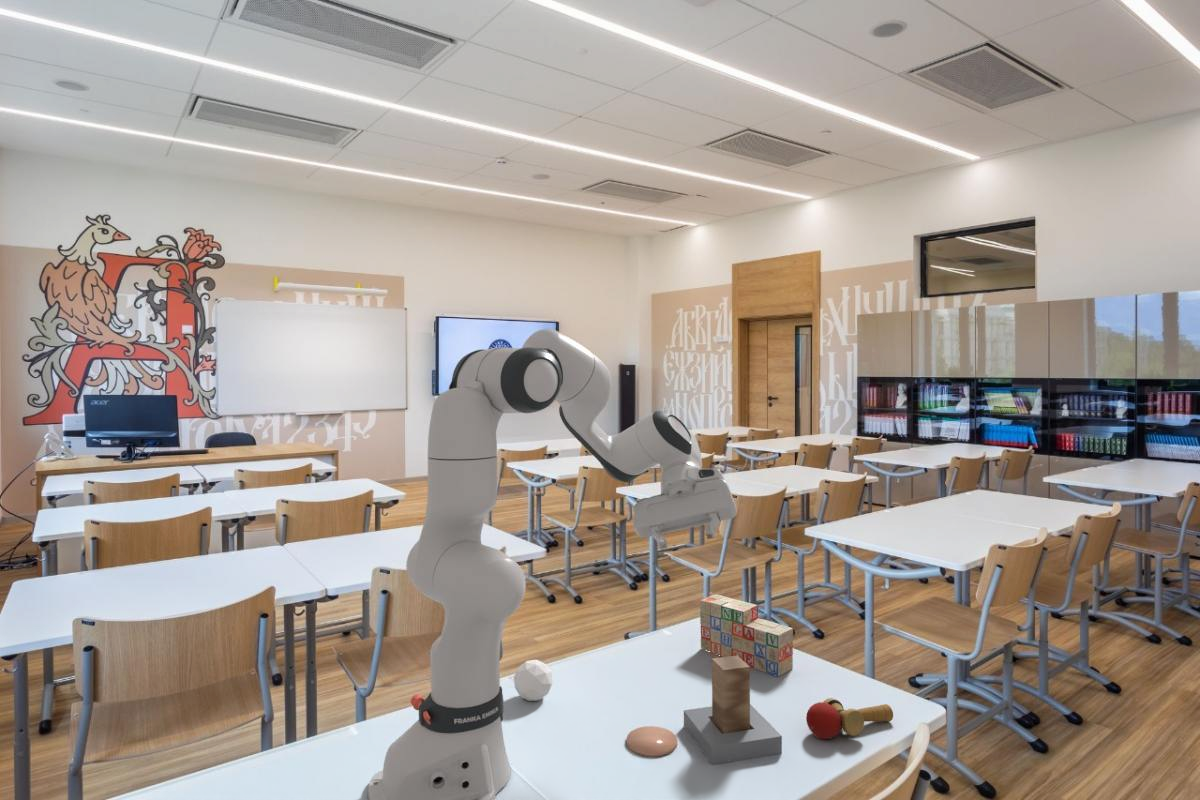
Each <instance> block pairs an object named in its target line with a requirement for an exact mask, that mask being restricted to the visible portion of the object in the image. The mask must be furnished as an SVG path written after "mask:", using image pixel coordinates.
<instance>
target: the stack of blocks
mask: <svg viewBox="0 0 1200 800" xmlns="http://www.w3.org/2000/svg"><path fill="white" fill-rule="evenodd" d="M699 604H700V605H699V608H700V613H699V618H700V619H699V620H700V622H699V623H700V649H701V648H702V649H704V650H707V651H710V652H712V653H714V654H713V655H715V654H717V655H720V656H722V657H729V656H738V657H740V658H741V659H742V660H743V661H744V662H745V663H746V664H747V665H748V666H750V668H753V669H755V670H758V671H761V672H763V673H767V674H769V675H772V676H774V677H780V676H782V675H784V674H785V673H788V672H789V671H791V670H792V669H793V668H794V667H793V665H794V664H793V663H794V662H793V661H794V660H793V659H794V658H793V657H794V656H793V655H794V654H793V653H794V648H793V646H794V645H793V642H794V628H793V627H790V626H787V625H784V624H780V623H777V622H773V621H770V620H766V619H763V618H759V605H758V604H755V603H751V602H747V601H743V600H741V599H740V600H739V599H736V598H731V597H728V596H724V595H720V594H717V593H716V594H712V595H709V596H706V597H704V598H702V599H700V600H699ZM704 650H703V651H704ZM707 651H706V652H707ZM710 652H709V653H710ZM712 653H711V654H712ZM717 655H716V656H717ZM720 656H719V657H720Z"/></svg>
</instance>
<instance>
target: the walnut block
mask: <svg viewBox="0 0 1200 800" xmlns="http://www.w3.org/2000/svg"><path fill="white" fill-rule="evenodd" d="M711 664H712V665H711V691H712V692H711V695H712V696H711V697H712V698H711V706H712V722H713V723H714V725H715V726H716V727H717V728H718V730H719V731H720V732H721V733H722V734H725V733H732V732H738V731H745V730H750V704H751V674H750V673H751V667H749V666H748V665H747V664H746V663H745V662H744V661H743V660H742V659H741V658H740V657H738V656H729V657H715V658H711Z"/></svg>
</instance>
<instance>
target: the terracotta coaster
mask: <svg viewBox="0 0 1200 800" xmlns="http://www.w3.org/2000/svg"><path fill="white" fill-rule="evenodd" d="M626 746H627V747H628V749H629V750H630V751H631V752H633V753H635V754H637V755H640V756H645V757H653V758H654V757H656V758H657V757H662V756H666V755H668V754H671V753H673V752H674V751H675V750H676V748H677V746H678V738H677V736H676V735H675V733H674V732H672V731H671V730H669V729H667V728H664V727H660V726H655V725H654V726H652V725H651V726H650V725H649V726H640V727H637V728H634V729H633V730H631V731H630V732H629V733H628V734H627V736H626Z"/></svg>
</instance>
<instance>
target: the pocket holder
mask: <svg viewBox="0 0 1200 800" xmlns="http://www.w3.org/2000/svg"><path fill="white" fill-rule="evenodd" d="M683 727H684V728H685V730H686V731H687V732H688V734H689V735H690V737H691V738H692V740H693V741H694V742H695V743H696V745H697V746H698V748H699V749H700V750H701V752H702V753H703V754H704V755H705V757H706V758H707V760H708V761H709V762H710V764H711V765H717V764H723V763H729V762H736V761H742V760H747V759H749V760H750V759H753V758H760V757H766V756H773V755H778V754H779V755H780V754H782V753H783V750H782V749H783V738H782V737H783V736H782V734H780V732H778V731H777V730H776V728H775V727H773V725H771V724H770V723H769V721H767V720H766V719H765V717H764V716H763V715H762V714H761V713H760V712H759V711H758V710H757V709H756V708H755V707H754V706H753V705H752V704H751V703H750V730H745V731H738V732H732V733H725V734H722V733H721V732H720V731H719V730H718V728H717V727H716V726H715V725H714V723H713V722H712V705H711V706H705V707H698V708H691V709H684V710H683Z"/></svg>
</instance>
